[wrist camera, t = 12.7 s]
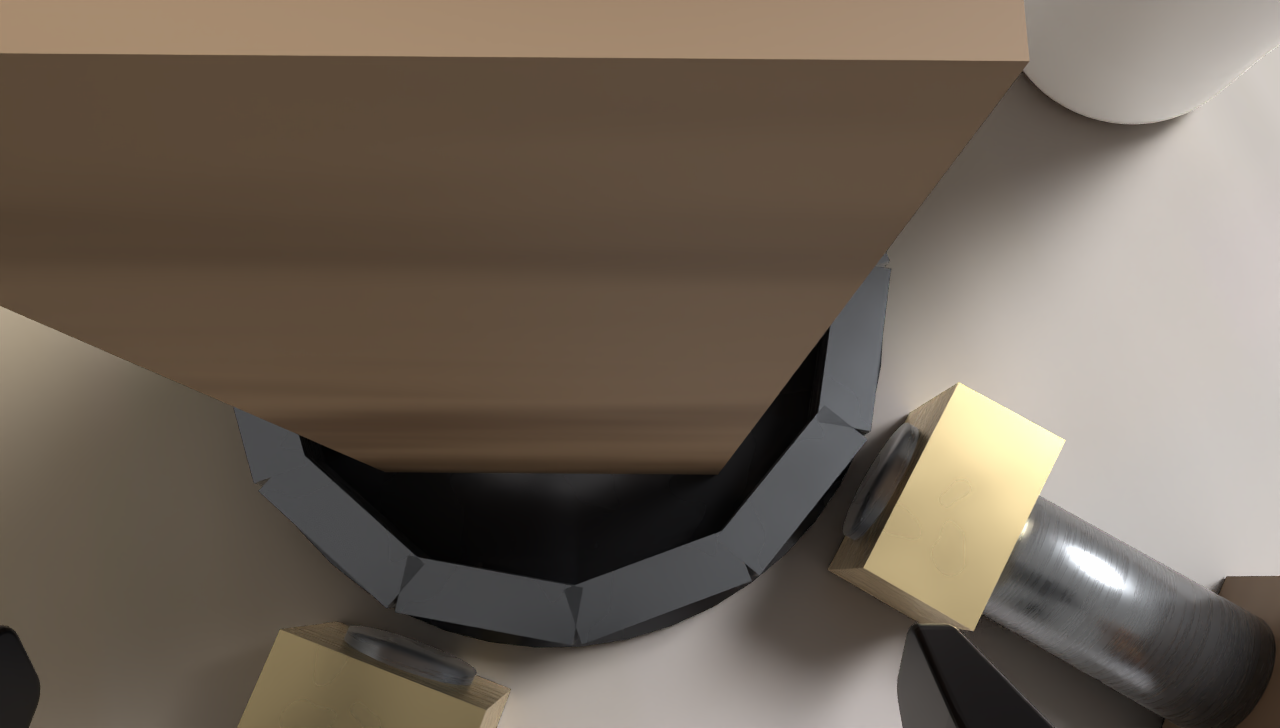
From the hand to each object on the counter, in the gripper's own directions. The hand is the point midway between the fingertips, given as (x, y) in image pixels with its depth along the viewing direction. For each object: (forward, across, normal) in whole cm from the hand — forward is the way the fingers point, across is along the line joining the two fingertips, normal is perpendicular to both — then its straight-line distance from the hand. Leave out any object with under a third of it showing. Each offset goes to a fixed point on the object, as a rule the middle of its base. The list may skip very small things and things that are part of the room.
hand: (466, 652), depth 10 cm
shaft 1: (+7, -10, +6) cm, 13 cm away
